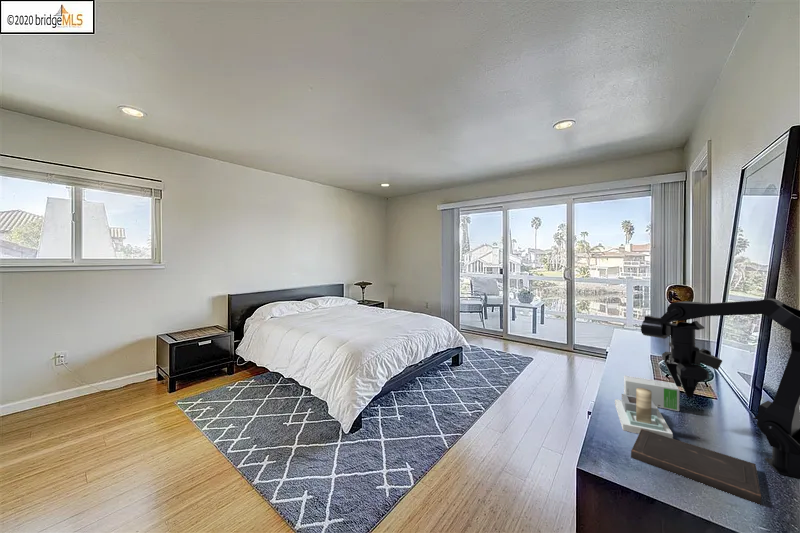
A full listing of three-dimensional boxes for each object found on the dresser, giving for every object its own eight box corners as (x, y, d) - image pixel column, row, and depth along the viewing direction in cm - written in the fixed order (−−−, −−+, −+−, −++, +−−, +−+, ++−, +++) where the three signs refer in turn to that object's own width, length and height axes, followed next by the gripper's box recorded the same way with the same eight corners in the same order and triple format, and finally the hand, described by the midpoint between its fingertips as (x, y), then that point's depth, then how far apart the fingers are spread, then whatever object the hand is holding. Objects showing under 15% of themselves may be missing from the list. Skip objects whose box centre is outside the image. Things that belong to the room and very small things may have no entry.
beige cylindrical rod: (652, 425, 96) (652, 393, 96) (637, 422, 98) (637, 391, 97) (649, 420, 99) (650, 389, 99) (635, 417, 101) (635, 387, 101)
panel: (672, 440, 91) (672, 424, 91) (623, 430, 97) (623, 414, 97) (656, 411, 109) (656, 397, 108) (614, 404, 114) (614, 391, 114)
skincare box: (680, 411, 108) (625, 402, 116) (675, 404, 114) (623, 396, 122) (679, 388, 108) (624, 380, 116) (675, 381, 114) (623, 375, 122)
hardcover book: (641, 436, 95) (641, 428, 95) (755, 472, 78) (755, 463, 78) (630, 459, 84) (630, 451, 83) (761, 508, 67) (761, 497, 67)
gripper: (733, 352, 85) (734, 408, 85) (704, 337, 101) (705, 385, 101) (680, 347, 90) (681, 401, 90) (661, 334, 107) (662, 380, 106)
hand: (683, 391), depth 97 cm, fingers open, 9 cm apart
